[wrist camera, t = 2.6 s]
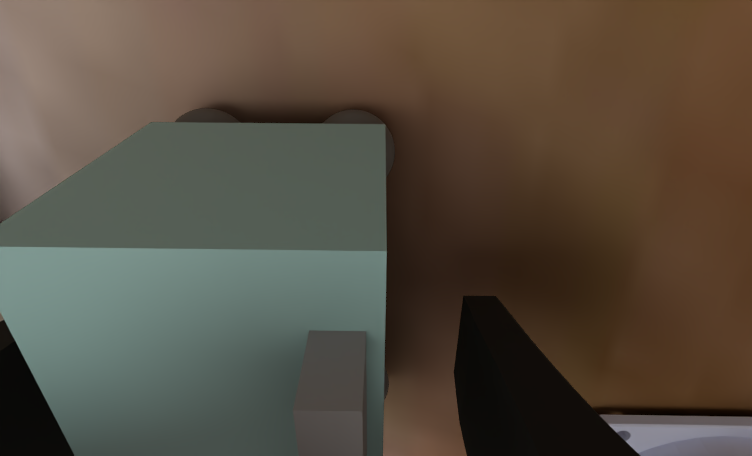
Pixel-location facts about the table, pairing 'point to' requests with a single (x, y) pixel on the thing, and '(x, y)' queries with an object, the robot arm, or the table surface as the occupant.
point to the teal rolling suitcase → (211, 290)
